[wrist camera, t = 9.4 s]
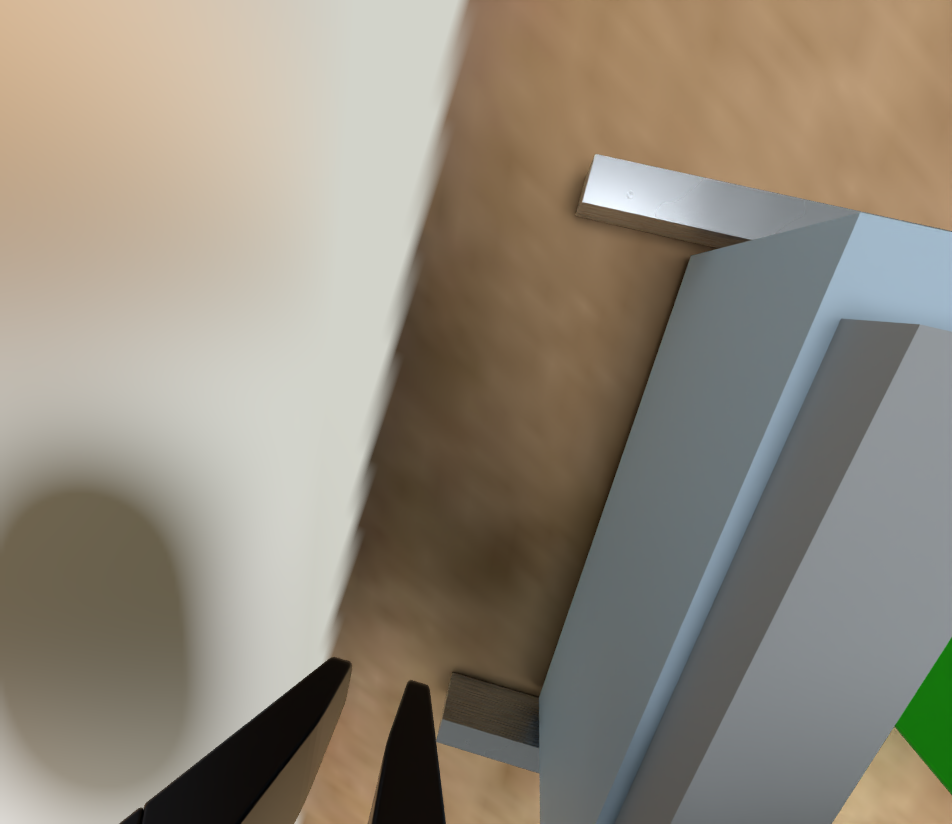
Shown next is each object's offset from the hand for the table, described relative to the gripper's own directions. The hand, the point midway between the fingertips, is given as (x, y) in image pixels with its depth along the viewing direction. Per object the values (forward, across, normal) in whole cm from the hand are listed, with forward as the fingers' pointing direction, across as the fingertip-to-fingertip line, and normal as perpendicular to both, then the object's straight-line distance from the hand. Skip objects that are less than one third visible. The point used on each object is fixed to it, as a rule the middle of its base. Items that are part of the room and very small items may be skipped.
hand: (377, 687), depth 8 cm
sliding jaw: (+4, -5, -3) cm, 7 cm away
